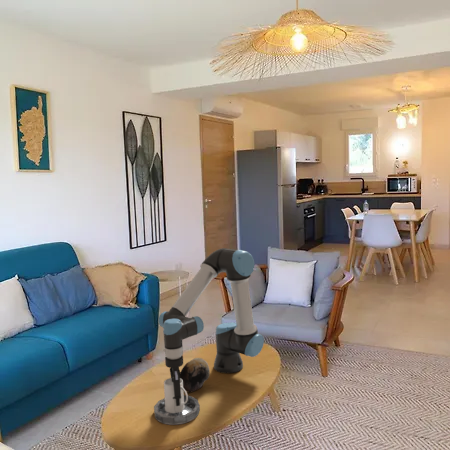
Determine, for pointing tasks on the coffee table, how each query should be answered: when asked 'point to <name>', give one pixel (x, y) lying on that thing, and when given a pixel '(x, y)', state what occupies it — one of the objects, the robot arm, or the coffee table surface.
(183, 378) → the decorative stone
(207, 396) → the coffee table surface
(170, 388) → the mug
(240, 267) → the robot arm
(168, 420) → the gray metal bowl
